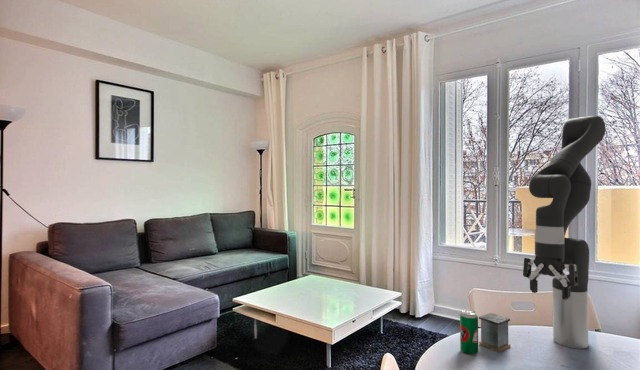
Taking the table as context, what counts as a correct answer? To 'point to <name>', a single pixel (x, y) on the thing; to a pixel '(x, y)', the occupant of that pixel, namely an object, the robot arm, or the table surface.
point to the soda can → (469, 332)
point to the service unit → (494, 332)
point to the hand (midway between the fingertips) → (549, 295)
